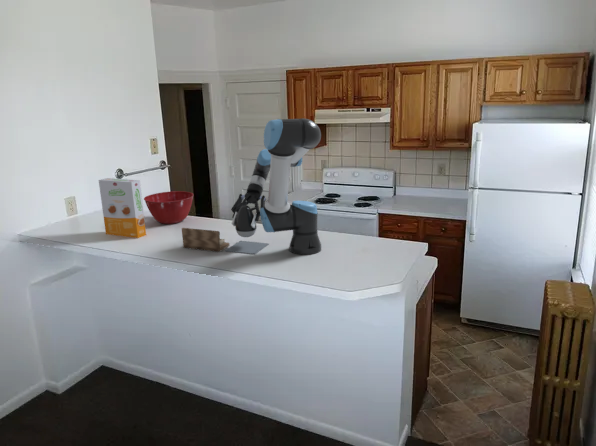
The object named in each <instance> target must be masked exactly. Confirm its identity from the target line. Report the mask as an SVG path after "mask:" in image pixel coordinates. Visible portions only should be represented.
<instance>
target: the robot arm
mask: <svg viewBox="0 0 596 446" xmlns="http://www.w3.org/2000/svg"><path fill="white" fill-rule="evenodd" d="M264 127H265V128H264V130H263V131H264V133H263V144H264V145H263V146H264V149H262V150H260V152H258V155H257V157H256V162H255V164H254V165H255V166H254V169H253V171H252V175H251V177H250V179H249V183H248V185H247V189H246V193H245V194H242V193H239V194H238V198H237V200H236V201H235V203H234V204H233V206H232V207H231V208H230V210H231V211H232V213H233V214H232V217H231V218H232V220H231V225H232V226H233V227H235V225H236V218H237V214H238V211H239V209H240V207H241V206H243V205H247V206H249V204H253V205H254V207H255V208H256V209H255V212H256V213H255V212H254V213H253V214H254V217H253V220H252V223H251V226H252V227H253V228H255V225H256V226H257V222H259V219H260V221H261V224H262V228H263V230H264V231H265V232H266V233H279V232H286V231H292V236H291V240H290V243H289V251H290V252H291V253H293V254H297V255H314V254H316V253H319V252H321V251H322V242H321V240H320V237H319V233H318V206H317V204H316V203H315V202H312V201H307V200H292V202H291V203H290V202H288V200H289V198H288V197H289V188H290V179H291V178H290V176H291V168H292V167H293V168H295V167H300V166H301V165H302V164H303V157H304V156H305V155H306V154H307V153H308V152H309V150H313V149H315V148H316V147H317V146H319V145H318V144H320V142H321V138H322V132H321V129H320V127H319V125H318V124H317V123H316V122H314V121H313V120H311V119H308V118H303V117H302V118H283V119H282V118H277V119H270V120H268V122H266V125H265V126H264ZM268 176H269V183H268V198H266V196H265V195H264V194H263V192H264V188H265V185H266V182H267V179H268ZM262 194H263V195H262ZM259 201H260V207H259Z"/></svg>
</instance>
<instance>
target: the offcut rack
mask: <svg viewBox="0 0 596 446" xmlns="http://www.w3.org/2000/svg"><path fill="white" fill-rule="evenodd" d="M181 236H182V246H183V249H189V248H191V250H197V249H199V250H200V251H205V252H206V251H207V252H215V253H216V252H217V253H220V252H222V251H223V250H226V249H227V248H229V247H230V242H226V241H225V240H226V239H225V238H220V237H221V232H220V231H219V230H211V229H199V228H190V227H182V228H181Z"/></svg>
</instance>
